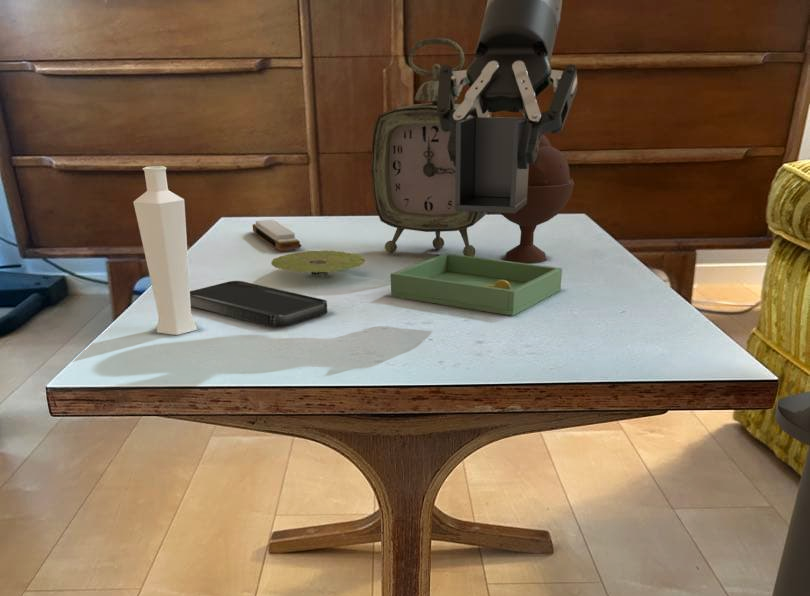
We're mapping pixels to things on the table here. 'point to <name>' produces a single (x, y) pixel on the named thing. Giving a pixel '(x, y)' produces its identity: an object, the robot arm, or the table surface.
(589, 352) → the table surface
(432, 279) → the tray
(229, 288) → the phone
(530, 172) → the ice cream bowl
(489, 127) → the holder
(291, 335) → the table surface
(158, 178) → the perfume bottle
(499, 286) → the key
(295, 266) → the green round disc
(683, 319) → the table surface
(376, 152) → the tabletop clock
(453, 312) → the table surface
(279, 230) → the harmonica
